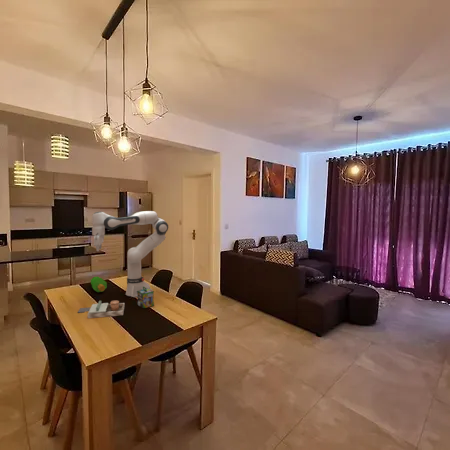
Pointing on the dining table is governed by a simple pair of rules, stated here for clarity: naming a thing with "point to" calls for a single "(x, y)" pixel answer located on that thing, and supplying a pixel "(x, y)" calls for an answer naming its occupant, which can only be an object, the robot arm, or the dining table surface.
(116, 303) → the terracotta knob
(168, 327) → the dining table surface
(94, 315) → the sliding lid box
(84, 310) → the slate tile
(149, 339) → the dining table surface
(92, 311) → the sliding lid panel
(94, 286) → the decorative tree
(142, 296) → the chalk box
